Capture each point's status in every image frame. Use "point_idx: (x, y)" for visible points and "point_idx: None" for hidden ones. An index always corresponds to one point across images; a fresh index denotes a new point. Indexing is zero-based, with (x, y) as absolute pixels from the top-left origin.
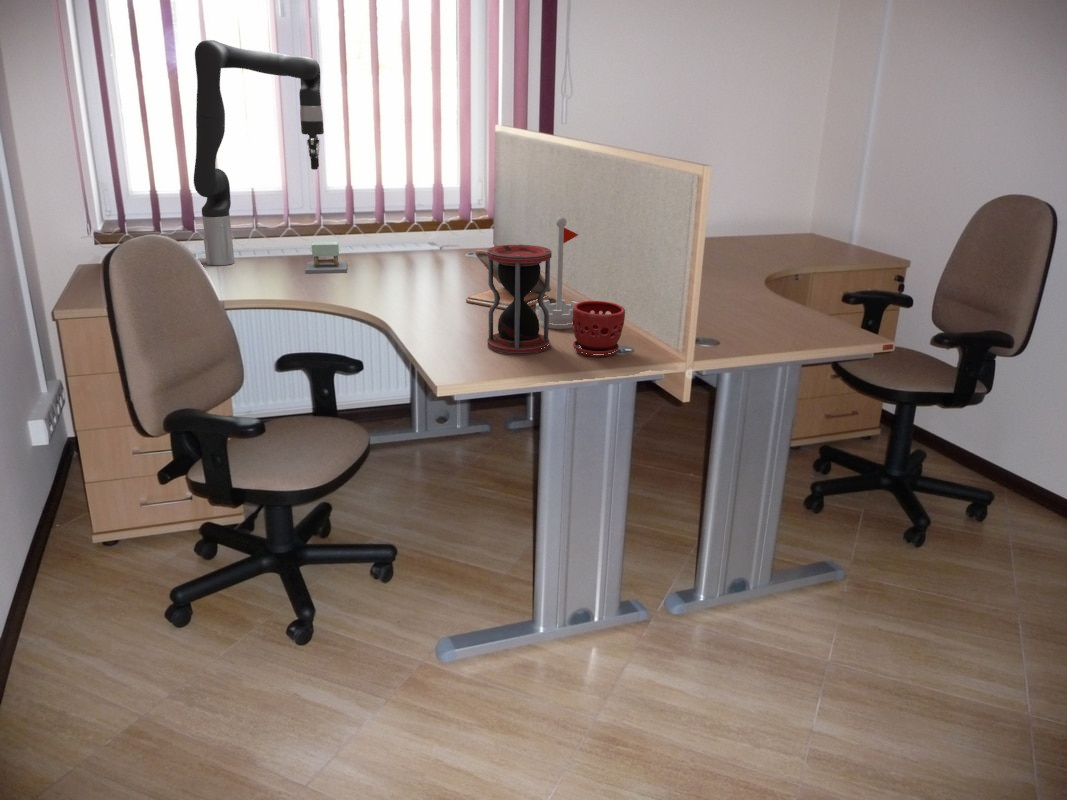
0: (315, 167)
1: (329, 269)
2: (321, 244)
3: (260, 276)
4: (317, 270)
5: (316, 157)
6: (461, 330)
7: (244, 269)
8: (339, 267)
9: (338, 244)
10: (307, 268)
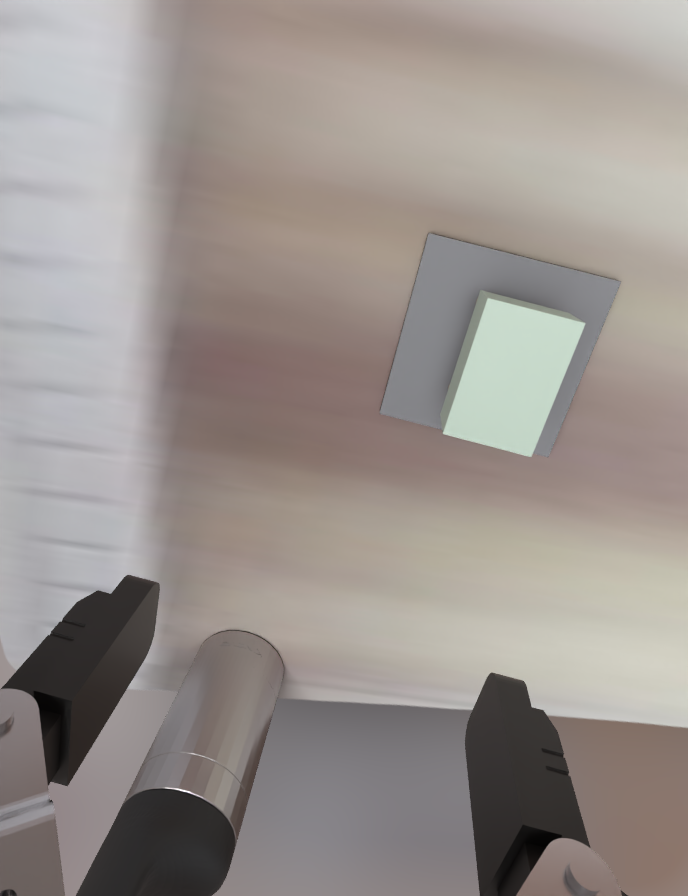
0: (540, 725)
1: (586, 360)
2: (541, 407)
3: (514, 601)
4: (567, 410)
5: (604, 874)
6: None
7: (370, 623)
8: (564, 305)
9: (488, 296)
10: None
